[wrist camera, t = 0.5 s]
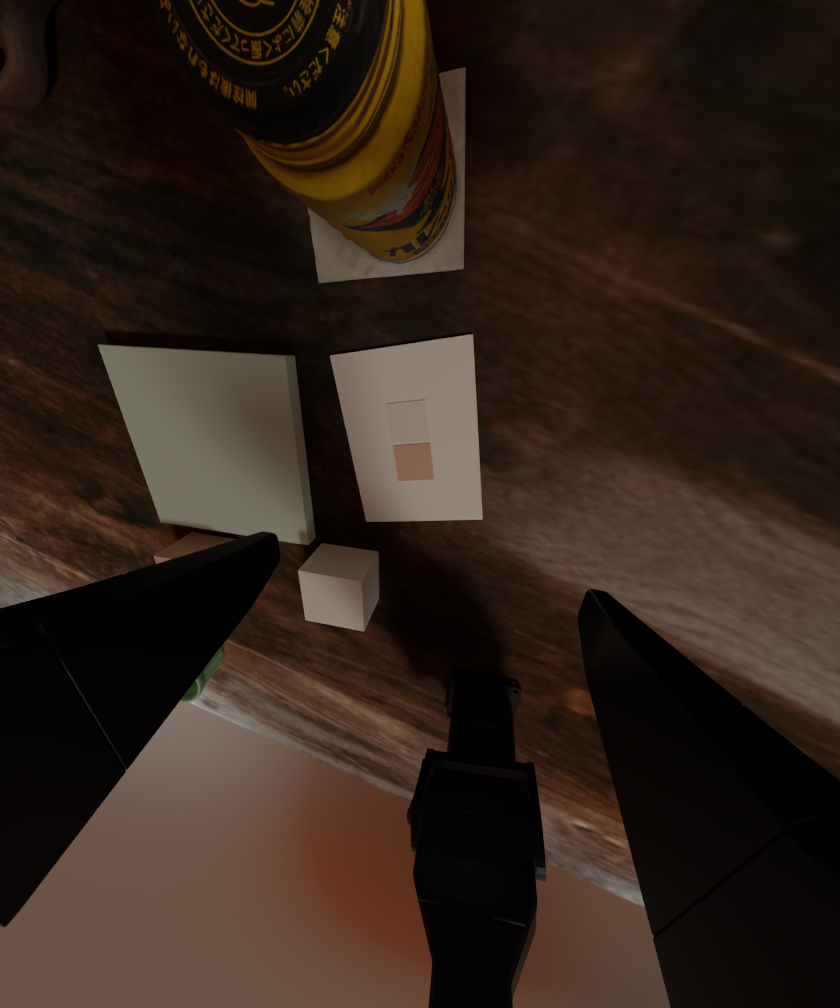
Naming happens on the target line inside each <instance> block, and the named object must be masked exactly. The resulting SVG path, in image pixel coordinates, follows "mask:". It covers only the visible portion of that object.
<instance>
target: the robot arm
mask: <svg viewBox="0 0 840 1008" xmlns="http://www.w3.org/2000/svg"><path fill="white" fill-rule="evenodd" d="M279 561H280V549H279V542H278V537H277V535H276V534H275V533H271V532H265V531H262V532H258V533H255V534H252V535H248V536H245V537H242V538H239V539H235V540H232V541H229V542H226V543H222V544H219V545H216V546H213V547H209V548H206V549H203V550H200V551H196V552H193V553H190V554H187V555H183V556H180V557H177V558H174V559H170V560H167V561H164V562H161V563H157V564H154V565H151V566H148V567H144V568H141V569H138V570H135V571H131V572H128V573H126V574H125V575H124V574H121V575H118V576H115V577H112V578H108V579H105V580H102V581H98V582H95V583H92V584H88V585H85V586H81V587H78V588H74V589H71V590H67V591H64V592H60V593H56V594H53V595H49V596H45V597H42V598H38V599H34V600H30V601H27V602H23V603H19V604H15V605H11V606H8V607H4V608H0V926H1V927H6V926H7V925H8V924H9V923H10V921H11V920H12V919H13V918H14V917H15V916H16V914H17V913H18V912H19V911H20V910H21V908H22V907H23V906H24V904H25V903H26V902H27V901H28V899H29V898H30V897H31V895H32V894H33V893H34V891H35V890H36V889H37V887H38V886H39V884H40V883H41V882H42V881H43V880H44V878H45V877H46V876H47V874H48V873H49V872H50V870H51V869H52V868H53V866H54V865H55V864H56V863H57V861H58V860H59V858H60V857H61V856H62V855H63V853H64V852H65V851H66V849H67V848H68V847H69V846H70V844H71V843H72V842H73V840H74V839H75V838H76V836H77V835H78V834H79V832H80V831H81V830H82V829H83V827H84V826H85V825H86V823H87V822H88V821H89V819H90V818H91V817H92V815H93V814H94V813H95V811H96V810H97V809H98V807H99V806H100V805H101V803H102V802H103V801H104V800H105V798H106V797H107V796H108V794H109V793H110V792H111V791H112V789H113V788H114V787H115V785H116V784H117V783H118V781H119V780H120V779H121V777H122V776H123V775H124V774H125V772H126V769H128V768H129V766H130V765H131V764H132V763H133V761H134V760H135V759H136V758H137V756H138V755H139V754H140V752H141V751H142V750H143V748H144V747H145V746H146V744H147V743H148V742H149V740H150V739H151V738H152V736H153V735H154V734H155V733H156V731H157V730H158V729H159V727H160V726H161V725H162V723H163V722H164V721H165V720H166V718H167V717H168V715H169V714H170V713H171V712H172V710H173V709H174V708H175V706H176V705H177V704H178V702H179V701H180V700H181V699H182V697H183V696H184V695H185V693H186V692H187V691H188V689H189V688H190V687H191V686H192V684H193V683H194V682H195V680H196V679H197V678H198V676H199V675H200V674H201V672H202V671H203V670H204V669H205V667H206V666H207V665H208V663H209V662H210V661H211V659H212V658H213V657H214V655H215V654H216V653H217V652H218V650H219V649H220V648H221V646H222V645H223V644H224V642H225V641H226V640H227V638H228V637H229V636H230V635H231V633H232V632H233V631H234V629H235V628H236V627H237V625H238V624H239V623H240V621H241V620H242V619H243V618H244V616H245V615H246V614H247V612H248V611H249V610H250V608H251V607H252V605H253V604H254V602H255V601H256V599H257V598H258V596H259V595H260V593H261V591H262V590H263V588H264V587H265V585H266V583H267V582H268V580H269V578H270V577H271V575H272V574H273V572H274V570H275V569H276V567H277V565H278V564H279ZM578 624H579V632H580V639H581V646H582V654H583V661H584V668H585V674H586V679H587V683H588V687H589V691H590V695H591V699H592V703H593V707H594V710H595V714H596V718H597V722H598V726H599V730H600V734H601V738H602V742H603V745H604V749H605V753H606V757H607V761H608V765H609V769H610V773H611V777H612V780H613V784H614V788H615V792H616V796H617V800H618V804H619V808H620V811H621V815H622V819H623V823H624V827H625V831H626V835H627V839H628V843H629V846H630V850H631V854H632V858H633V862H634V866H635V870H636V874H637V878H638V881H639V885H640V889H641V893H642V897H643V901H644V905H645V909H646V913H647V916H648V920H649V924H650V928H651V931H652V934H653V935H654V936H655V937H654V938H653V941H654V944H655V949H656V953H657V956H658V960H659V964H660V968H661V972H662V976H663V980H664V984H665V988H666V991H667V995H668V999H669V1003H670V1007H671V1008H840V780H838V779H837V778H836V777H835V776H833V775H832V774H831V773H829V772H828V771H827V770H825V769H824V768H823V767H821V766H820V765H819V764H818V763H816V762H815V761H814V760H812V759H811V758H810V757H808V756H807V755H806V754H804V753H803V752H802V751H800V750H799V749H798V748H797V747H795V746H794V745H793V744H792V743H790V742H789V741H788V740H787V739H785V738H784V737H783V736H782V735H780V734H779V733H778V732H777V731H775V730H774V729H773V728H772V727H770V726H769V725H768V724H767V723H766V722H764V721H763V720H762V719H761V718H759V717H758V716H757V715H756V714H755V713H753V712H752V711H751V710H750V709H749V708H747V707H746V706H742V703H741V702H740V701H739V700H737V699H736V698H735V697H734V696H733V695H731V694H730V693H729V692H728V691H726V690H725V689H724V688H723V687H722V686H720V685H719V684H718V683H717V682H716V681H714V680H713V679H712V678H711V677H709V676H708V675H707V674H706V673H705V672H703V671H702V670H701V669H700V668H698V667H697V666H696V665H695V664H694V663H692V662H691V661H690V660H689V659H687V658H686V657H685V656H684V655H683V654H681V653H680V652H679V651H678V650H676V649H675V648H674V647H673V646H672V645H670V644H669V643H668V642H667V641H666V640H664V639H663V638H662V637H661V636H659V635H658V634H657V633H656V632H655V631H653V630H652V629H651V628H650V627H648V626H647V625H646V624H645V623H644V622H642V621H641V620H640V619H639V618H637V617H636V616H635V615H634V614H633V613H631V612H630V611H629V610H628V609H626V608H625V607H624V606H623V605H622V604H620V603H619V602H618V601H617V600H616V599H614V598H613V597H612V596H611V595H609V594H608V593H607V592H605V591H600V590H595V589H589V590H588V591H587V592H586V594H585V597H584V599H583V602H582V605H581V607H580V610H579V613H578ZM521 693H522V692H521V687H520V686H519V685H517V684H513V683H508V682H503V681H498V680H493V679H488V678H484V677H479V676H474V675H469V674H464V673H459V672H453V673H452V675H451V683H450V690H449V698H448V705H447V713H446V714H447V716H448V717H451V719H450V728H449V737H448V747H447V752H441V751H434V749H429V748H427V752H426V756H425V758H423V760H422V766H421V770H420V774H419V778H418V782H417V786H416V790H415V793H414V796H413V798H412V801H411V804H410V806H409V809H408V812H407V821H408V823H409V825H410V827H411V847H412V851H413V853H416V855H415V863H414V870H413V878H414V883H415V888H416V892H417V896H418V900H419V905H420V910H421V914H422V918H423V923H424V927H425V932H426V936H427V940H428V945H429V949H430V953H431V958H432V974H431V987H430V998H429V1008H513V1003H512V1002H513V995H514V992H515V990H516V987H517V984H518V981H519V978H520V975H521V972H522V969H523V966H524V963H525V960H526V957H527V954H528V952H529V949H530V946H531V943H532V940H533V937H534V934H535V929H536V914H537V893H536V880H535V879H537V880H542V881H546V868H545V867H546V865H545V850H544V839H543V829H542V820H541V812H540V805H539V797H538V790H537V782H536V775H535V767H534V763H531V762H527V763H521V762H516V757H515V741H514V725H513V721H514V717H515V714H516V710H517V707H518V703H519V700H520V697H521Z"/></svg>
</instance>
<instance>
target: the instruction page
mask: <svg viewBox="0 0 840 1008" xmlns="http://www.w3.org/2000/svg"><path fill="white" fill-rule="evenodd" d="M330 359H331V363H332V368H333V372H334V377H335V382H336V386H337V391H338V395H339V400H340V404H341V409H342V413H343V418H344V423H345V427H346V432H347V436H348V441H349V445H350V450H351V454H352V459H353V464H354V468H355V473H356V477H357V482H358V486H359V491H360V495H361V500H362V505H363V509H364V514H365V518H366V522H388V521H435V520H482V519H483V517H482V498H481V478H480V459H479V440H478V421H477V402H476V383H475V364H474V345H473V334H471V335H464V336H457V337H451V338H444V339H437V340H431V341H424V342H417V343H411V344H404V345H397V346H391V347H384V348H377V349H371V350H364V351H358V352H351V353H344V354H338V355H331V356H330Z"/></svg>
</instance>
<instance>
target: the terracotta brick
mask: <svg viewBox="0 0 840 1008" xmlns="http://www.w3.org/2000/svg"><path fill="white" fill-rule="evenodd" d="M232 540H235V539H232V538H226V537H220V536H213V535H207V534H201V533H195V532H191V533H190V534H188V535H186V536H185V537H183V538H181V539H180V540H178V541H177V542H175V543H173V544H172V545H170V546H168V547H167V548H165V549H164V550H162V551H160V552H159V553H157V554H155V555H154V558H155V561H156V564H157V563H161V562H164V561H167V560H170V559H174V558H177V557H180V556H183V555H187V554H190V553H193V552H196V551H200V550H203V549H206V548H209V547H213V546H216V545H219V544H222V543H226V542H229V541H232Z"/></svg>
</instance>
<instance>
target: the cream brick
mask: <svg viewBox="0 0 840 1008" xmlns="http://www.w3.org/2000/svg"><path fill="white" fill-rule="evenodd" d="M298 573H299V580H300V586H301V593H302V600H303V606H304V613H305V620H308V621H313V622H318V623H323V624H328V625H333V626H339V627H344V628H349V629H354V630H359V631H365V628H366V626H367V624H368V622H369V619H370V617H371V615H372V613H373V611H374V608H375V606H376V604H377V602H378V599H379V556H378V552H377V551H370V550H364V549H357V548H351V547H344V546H338V545H331V544H325V543H322V544H321V545H320V546H319V547H318V548H317V549H316V551H315V552H314V553H313V554H312V555H311V556H310V557H309V559H308V560H307V561H306V562H305V563H304V564H303V566H302V567H301V568H300V569H299V570H298Z"/></svg>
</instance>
